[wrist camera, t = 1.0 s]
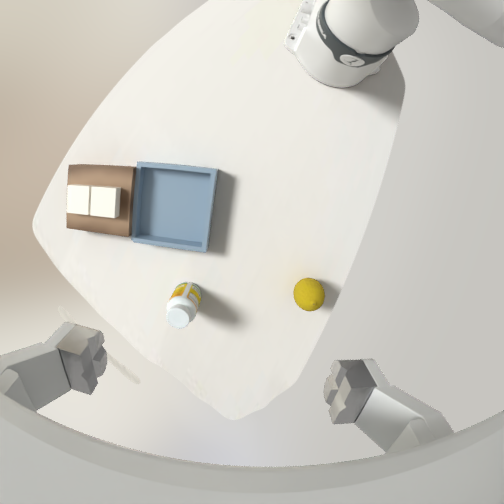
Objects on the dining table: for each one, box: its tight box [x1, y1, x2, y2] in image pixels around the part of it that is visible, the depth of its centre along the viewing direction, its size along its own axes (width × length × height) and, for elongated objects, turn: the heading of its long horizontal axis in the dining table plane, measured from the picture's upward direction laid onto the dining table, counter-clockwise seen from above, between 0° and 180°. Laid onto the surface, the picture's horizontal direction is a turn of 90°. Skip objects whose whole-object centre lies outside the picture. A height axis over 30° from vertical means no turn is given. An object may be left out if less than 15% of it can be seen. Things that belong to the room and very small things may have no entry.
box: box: [131, 162, 218, 253], centre depth 46 cm, size 14×14×4 cm
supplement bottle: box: [166, 282, 201, 329], centre depth 48 cm, size 5×5×10 cm
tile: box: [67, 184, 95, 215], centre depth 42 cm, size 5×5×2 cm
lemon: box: [294, 278, 325, 311], centre depth 49 cm, size 6×6×8 cm
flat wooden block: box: [67, 164, 137, 237], centre depth 45 cm, size 12×14×4 cm
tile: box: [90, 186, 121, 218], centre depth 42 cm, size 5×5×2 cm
